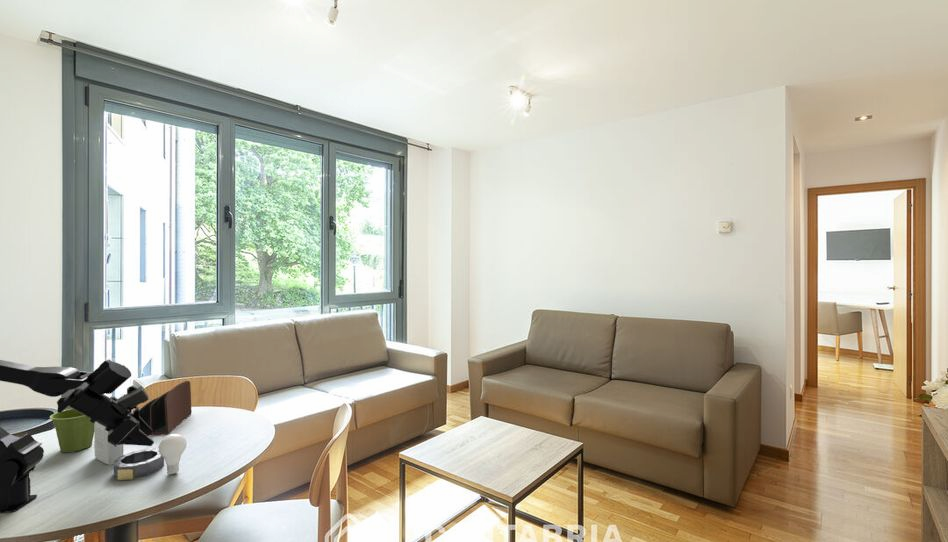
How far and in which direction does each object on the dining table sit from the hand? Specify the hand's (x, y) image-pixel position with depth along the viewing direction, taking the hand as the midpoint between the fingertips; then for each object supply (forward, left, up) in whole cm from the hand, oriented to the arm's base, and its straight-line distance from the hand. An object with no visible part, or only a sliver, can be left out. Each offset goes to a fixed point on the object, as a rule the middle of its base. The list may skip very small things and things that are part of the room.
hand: (152, 438), depth 116 cm
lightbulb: (+2, -4, -11) cm, 12 cm away
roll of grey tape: (+6, +7, -11) cm, 14 cm away
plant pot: (+24, +34, -11) cm, 43 cm away
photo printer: (+14, +19, -11) cm, 26 cm away
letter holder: (+41, +18, -11) cm, 46 cm away
